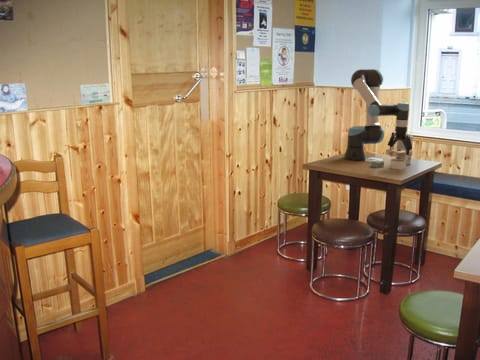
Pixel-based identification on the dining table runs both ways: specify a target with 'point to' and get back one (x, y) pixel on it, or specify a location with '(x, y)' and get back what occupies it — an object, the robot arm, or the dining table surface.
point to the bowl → (398, 164)
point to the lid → (398, 152)
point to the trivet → (377, 164)
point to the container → (401, 146)
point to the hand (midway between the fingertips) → (398, 157)
